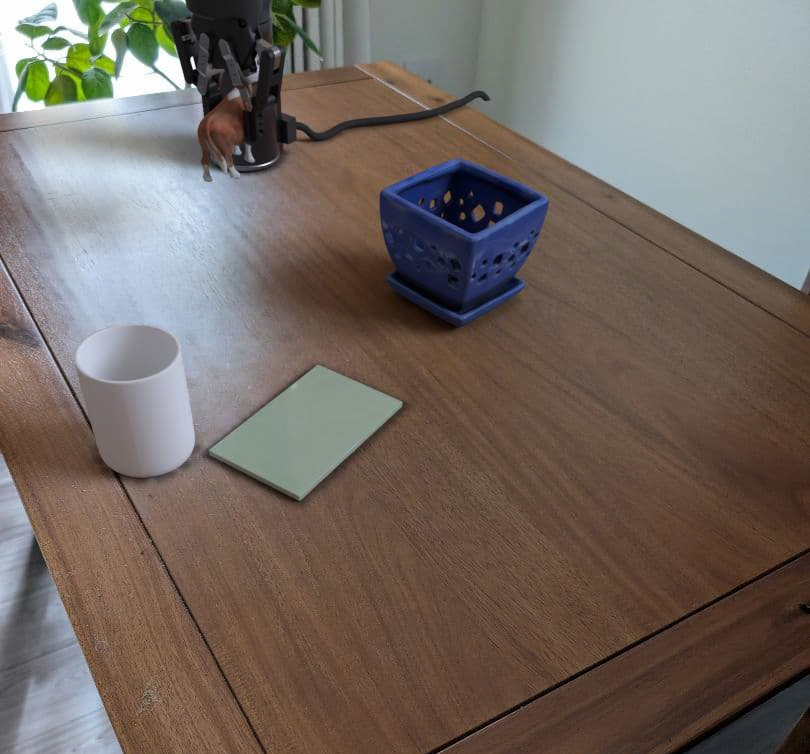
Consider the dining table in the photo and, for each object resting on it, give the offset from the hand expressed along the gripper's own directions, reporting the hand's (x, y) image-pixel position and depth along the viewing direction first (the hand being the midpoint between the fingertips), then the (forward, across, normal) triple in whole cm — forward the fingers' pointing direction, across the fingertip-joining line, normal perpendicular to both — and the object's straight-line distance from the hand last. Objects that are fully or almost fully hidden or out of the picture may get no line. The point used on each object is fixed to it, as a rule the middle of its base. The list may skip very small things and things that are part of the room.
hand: (235, 135), depth 95 cm
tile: (+11, +29, -24) cm, 39 cm away
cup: (+12, +18, -33) cm, 40 cm away
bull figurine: (+3, 0, 0) cm, 3 cm away
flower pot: (+11, +28, +4) cm, 30 cm away
